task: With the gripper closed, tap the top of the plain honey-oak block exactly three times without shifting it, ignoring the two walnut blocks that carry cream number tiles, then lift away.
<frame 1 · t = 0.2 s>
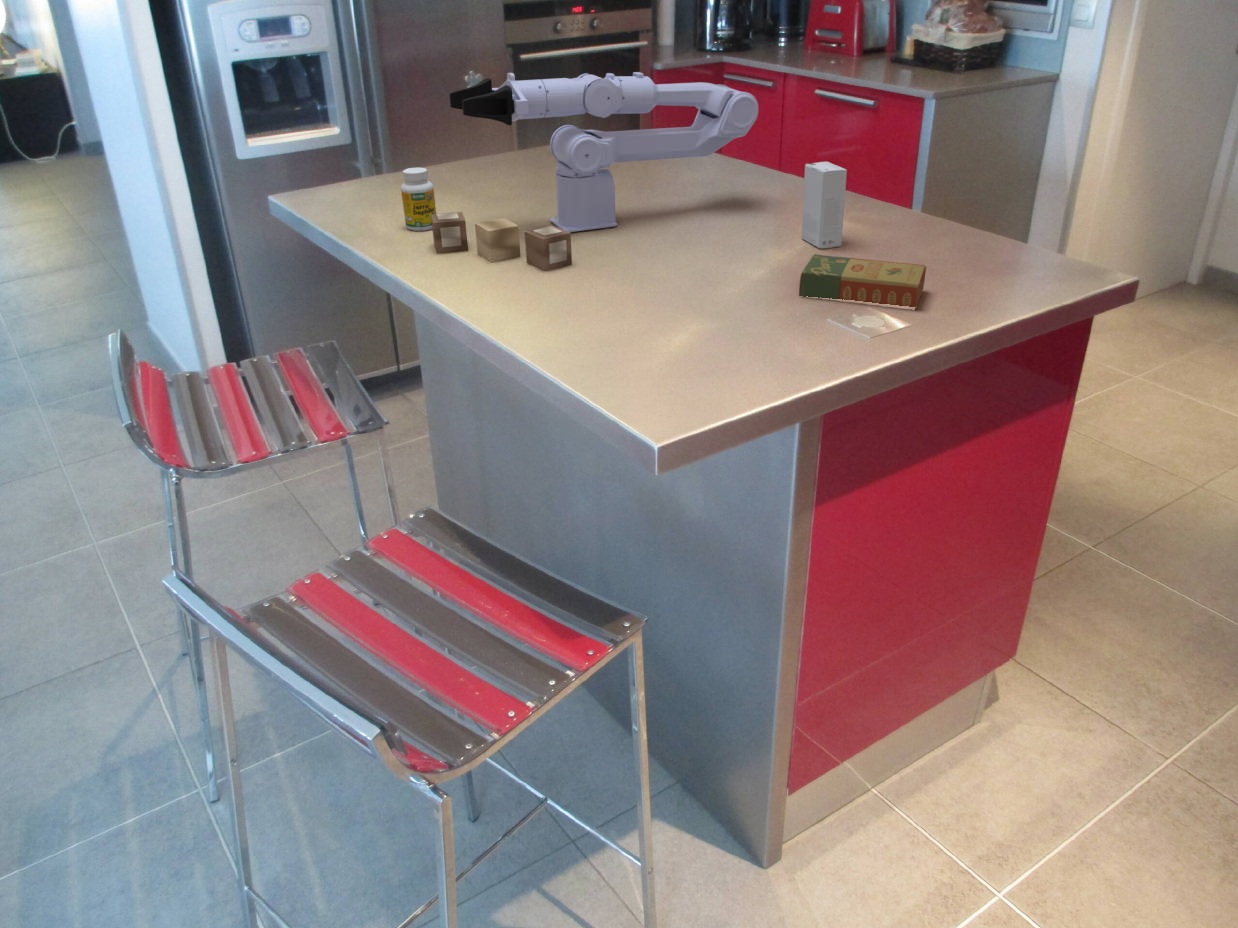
hand: (456, 104, 151), 21 cm above the countertop, tool horizontal, fingers open, 7 cm apart
skincare box: (819, 244, 158), on the countertop
supplement bottle: (421, 228, 168), on the countertop
carton: (860, 297, 138), on the countertop
walnut block b: (549, 264, 151), on the countertop
walnut block a: (451, 248, 158), on the countertop
oak block: (498, 256, 155), on the countertop
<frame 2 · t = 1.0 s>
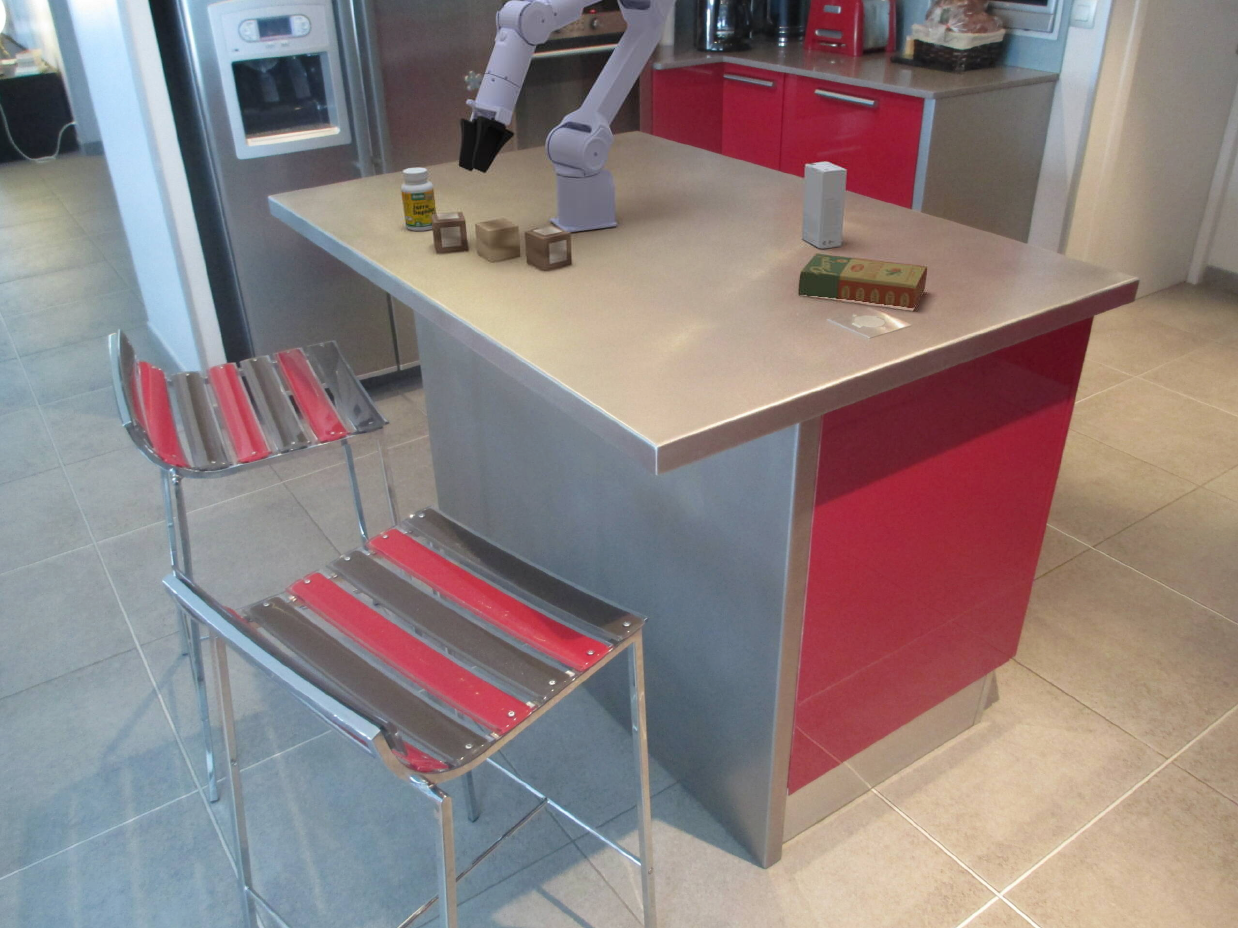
hand: (471, 169, 149), 13 cm above the countertop, tool tilted 30°, fingers open, 7 cm apart
nothing on the countertop moved.
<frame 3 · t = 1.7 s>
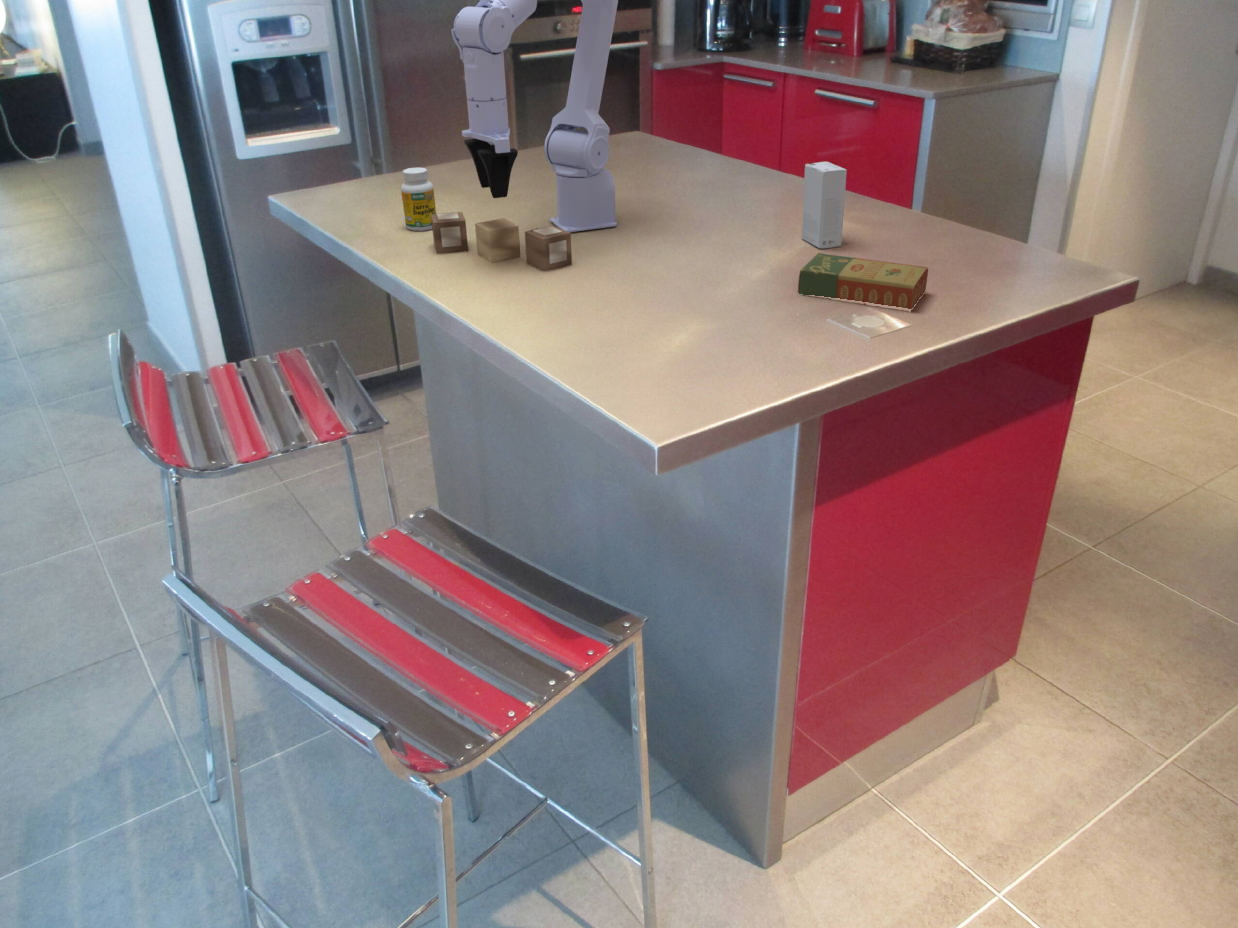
hand: (494, 192, 150), 10 cm above the countertop, tool pointing down, fingers open, 6 cm apart
nothing on the countertop moved.
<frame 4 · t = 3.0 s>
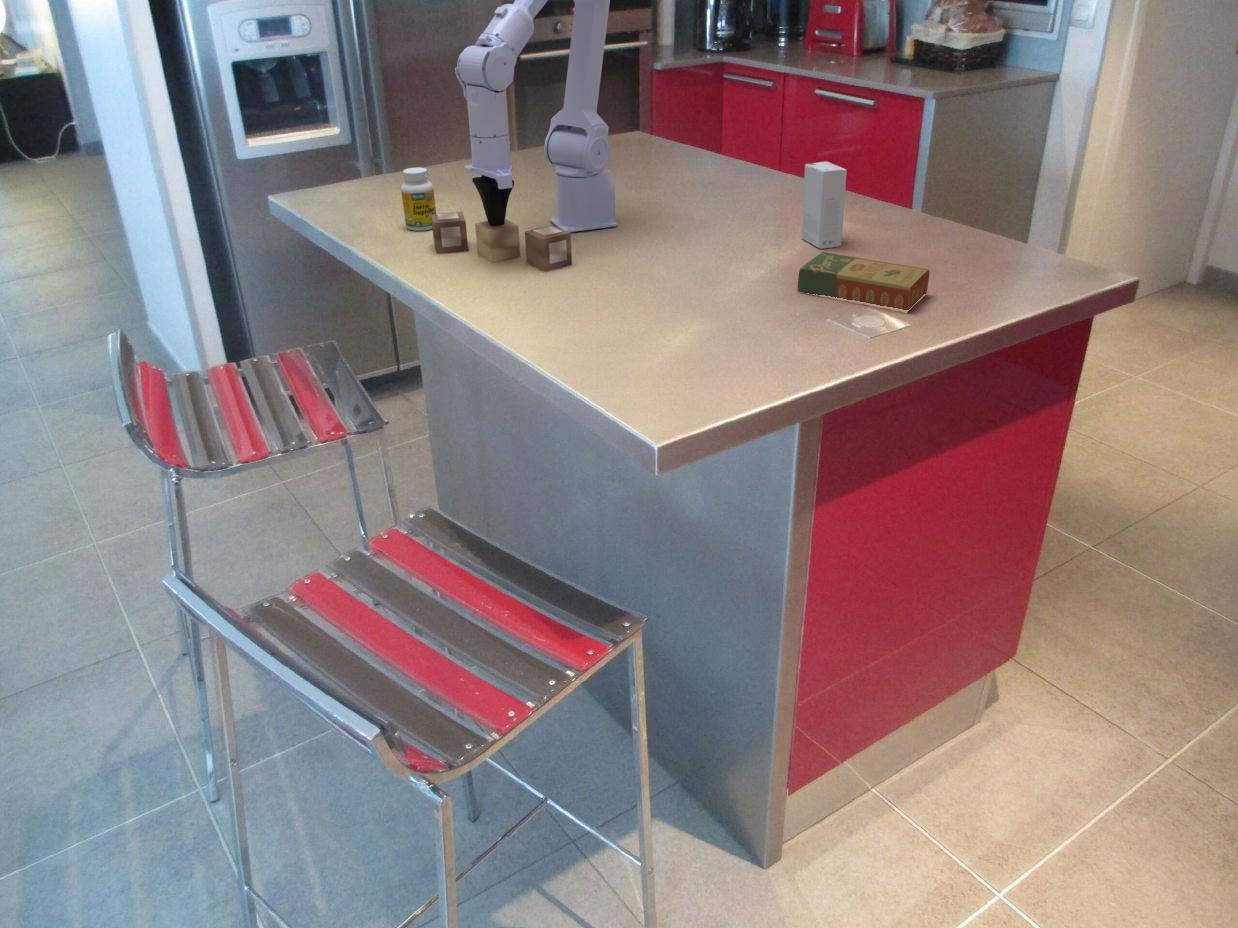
hand: (496, 225, 152), 5 cm above the countertop, tool pointing down, fingers closed, pressing on oak block
oak block: (498, 255, 155), on the countertop, touching gripper
everything else where it was.
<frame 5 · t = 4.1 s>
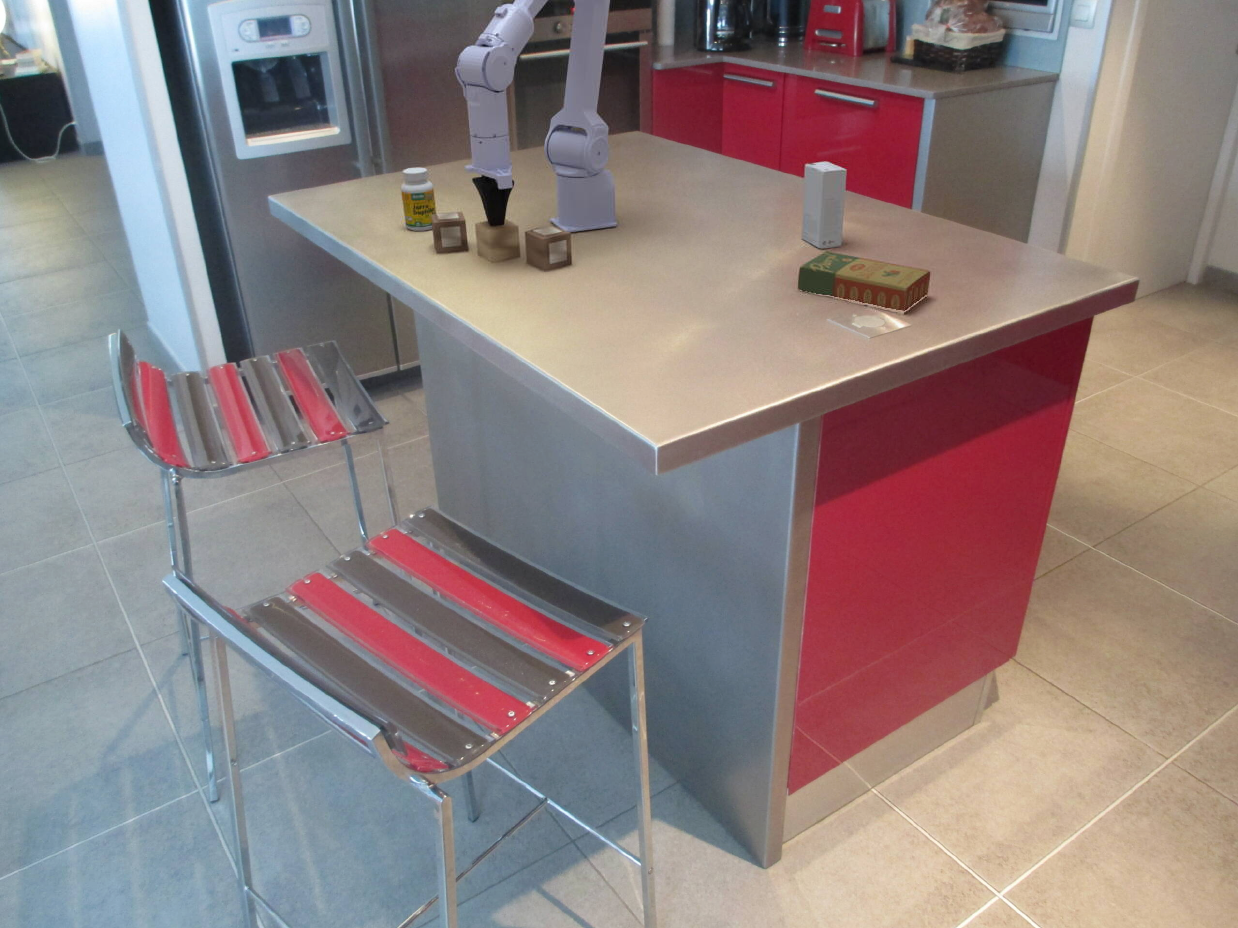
hand: (496, 225, 152), 5 cm above the countertop, tool pointing down, fingers closed, pressing on oak block
oak block: (498, 255, 155), on the countertop, touching gripper
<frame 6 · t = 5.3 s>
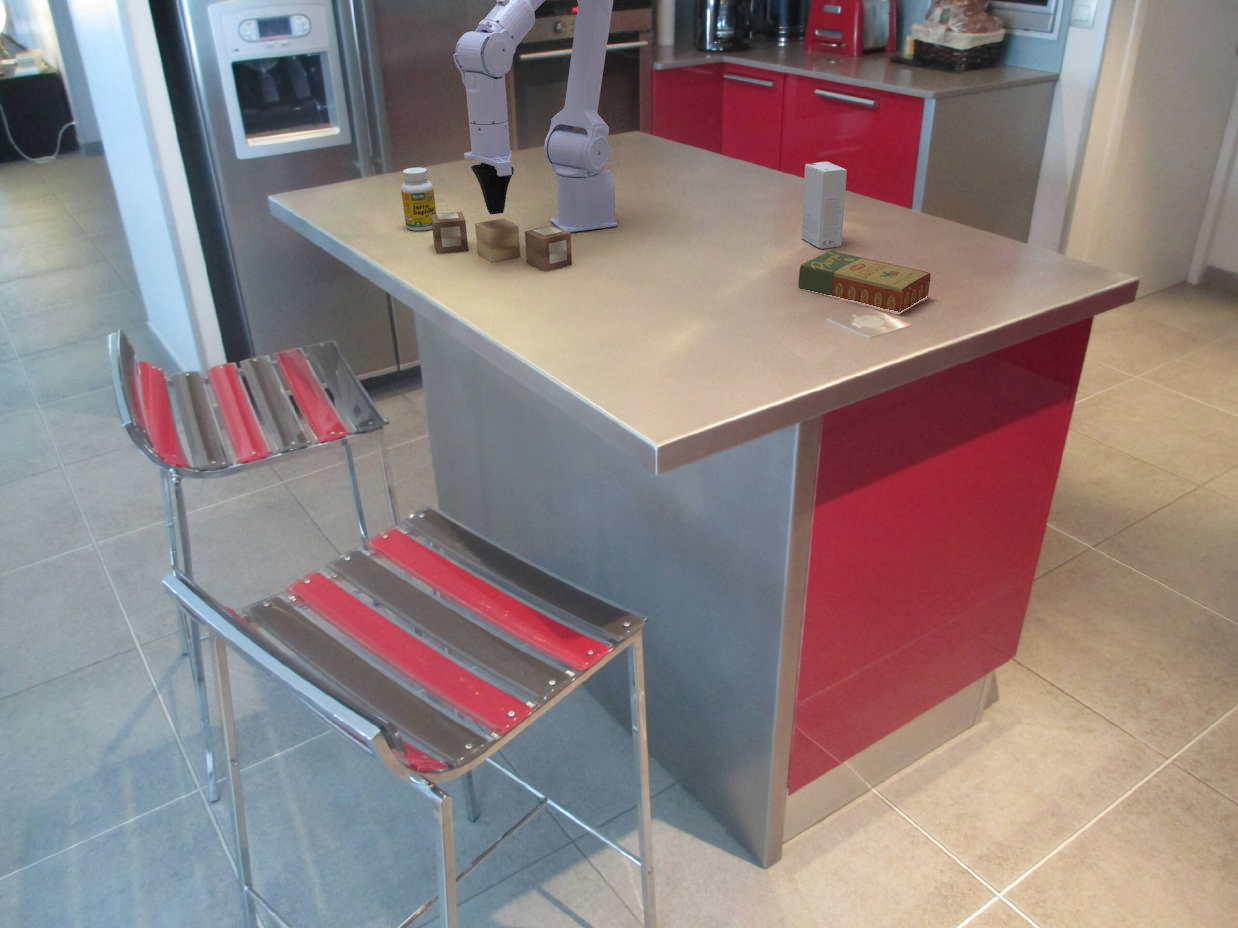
hand: (496, 212, 151), 7 cm above the countertop, tool pointing down, fingers closed
oak block: (498, 256, 155), on the countertop
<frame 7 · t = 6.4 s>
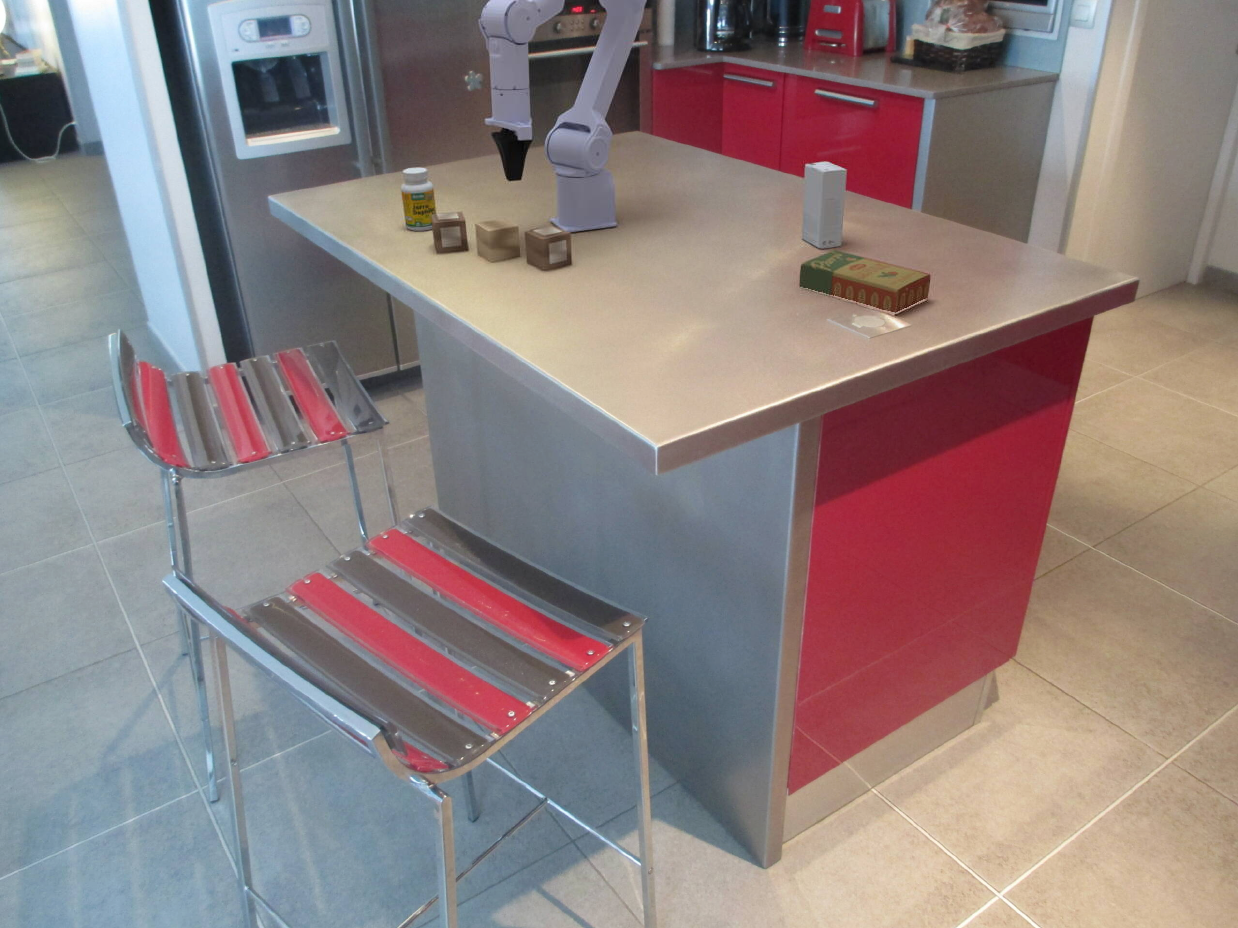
hand: (513, 180, 153), 10 cm above the countertop, tool pointing down, fingers closed
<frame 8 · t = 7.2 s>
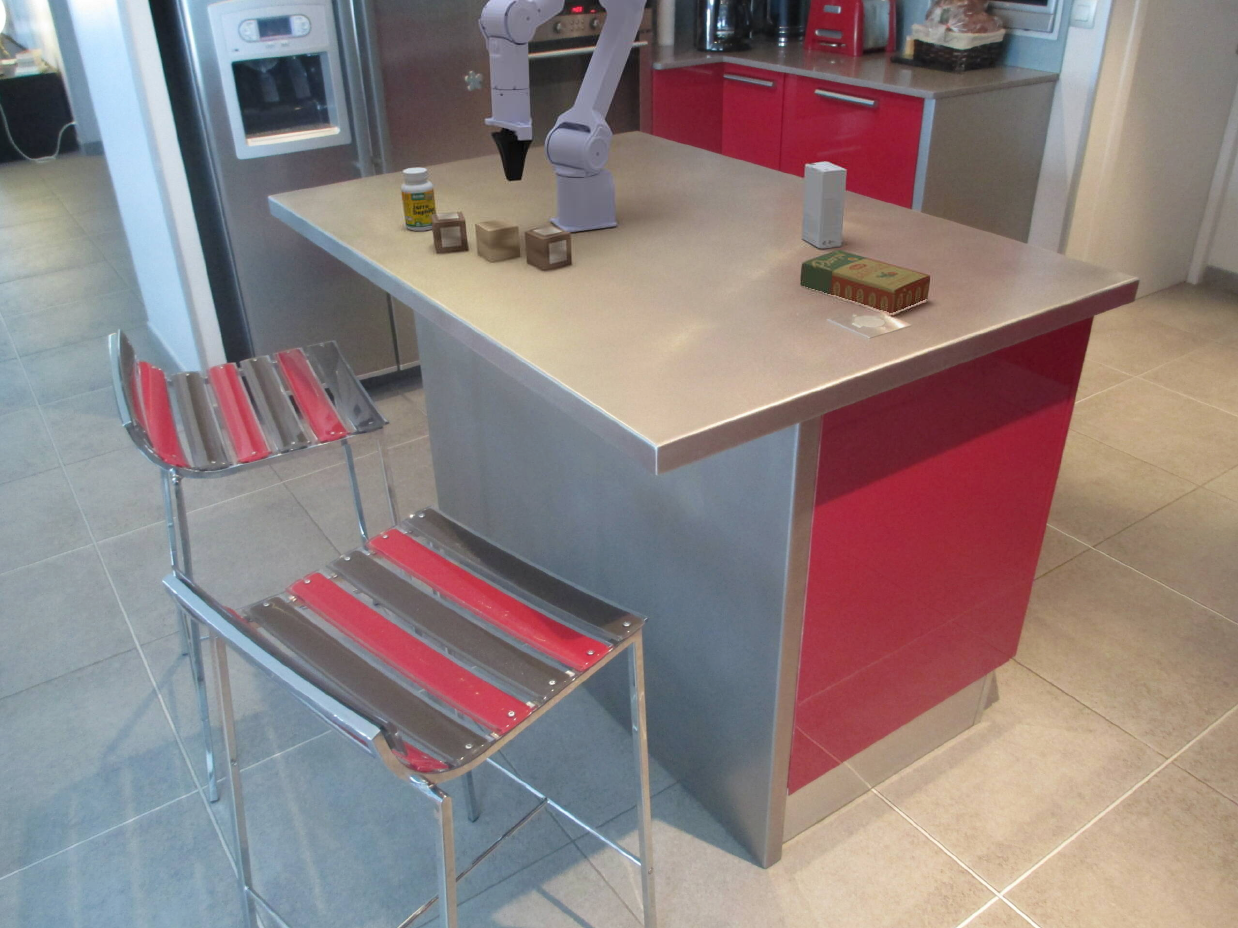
hand: (513, 180, 153), 10 cm above the countertop, tool pointing down, fingers closed
at the end: oak block moved 0.1 cm from its start; oak block tilted 0°; oak block touching countertop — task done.
